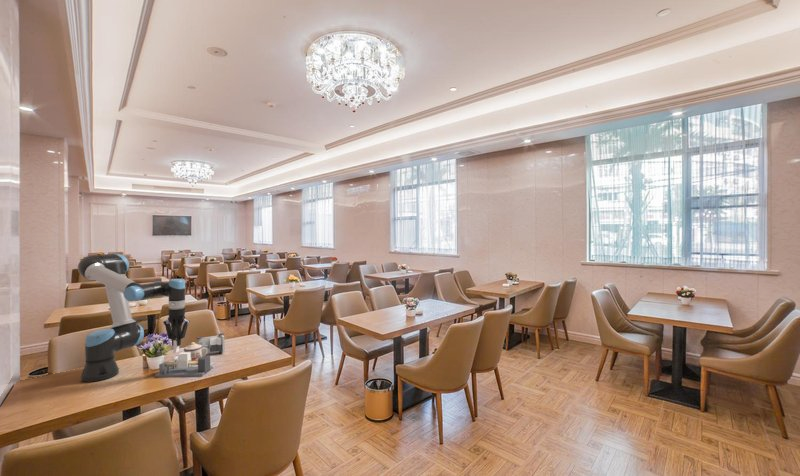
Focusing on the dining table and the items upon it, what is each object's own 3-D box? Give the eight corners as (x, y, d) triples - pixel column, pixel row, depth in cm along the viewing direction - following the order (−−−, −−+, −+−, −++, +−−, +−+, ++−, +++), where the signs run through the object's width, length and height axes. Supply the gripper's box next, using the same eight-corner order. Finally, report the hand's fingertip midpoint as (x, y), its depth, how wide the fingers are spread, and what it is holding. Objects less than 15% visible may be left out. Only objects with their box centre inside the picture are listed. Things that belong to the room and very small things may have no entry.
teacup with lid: (186, 366, 198) (185, 346, 198) (182, 362, 204) (181, 342, 204) (209, 361, 206) (209, 341, 206) (205, 357, 213) (204, 338, 212)
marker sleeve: (177, 368, 187) (177, 354, 187) (181, 365, 191) (181, 352, 191) (187, 368, 187) (186, 354, 187) (191, 365, 191) (191, 351, 191)
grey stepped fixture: (155, 377, 183) (155, 361, 183) (168, 369, 194) (168, 354, 194) (202, 376, 184) (202, 361, 184) (212, 368, 195) (212, 354, 195)
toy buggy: (193, 361, 206) (193, 341, 206) (191, 357, 213) (191, 338, 213) (227, 354, 217) (227, 335, 217) (223, 350, 225) (223, 332, 225)
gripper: (159, 309, 185) (159, 353, 185) (185, 309, 185) (184, 354, 186) (168, 306, 192) (168, 349, 193) (193, 306, 193) (192, 349, 193)
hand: (176, 351), depth 189 cm, fingers closed
